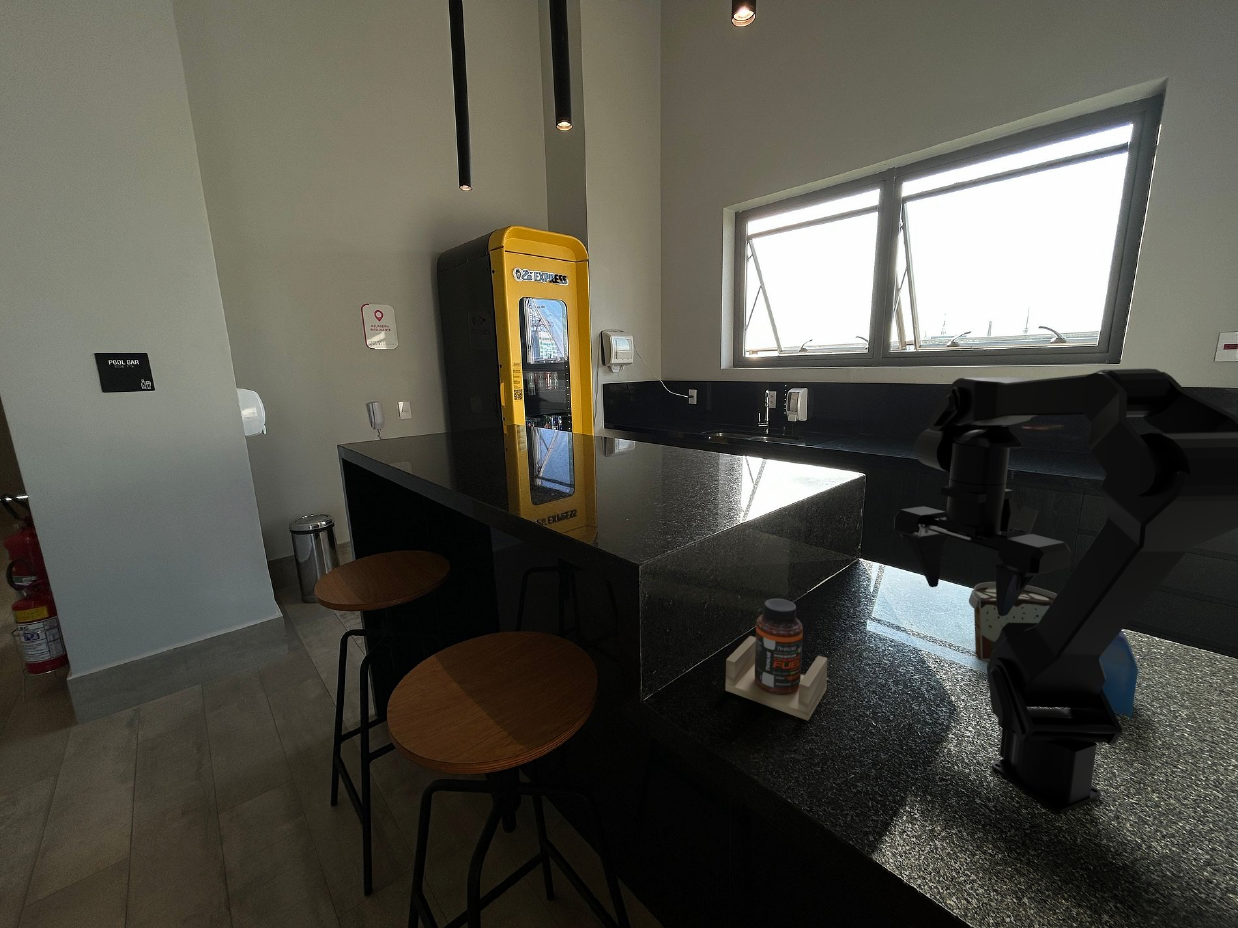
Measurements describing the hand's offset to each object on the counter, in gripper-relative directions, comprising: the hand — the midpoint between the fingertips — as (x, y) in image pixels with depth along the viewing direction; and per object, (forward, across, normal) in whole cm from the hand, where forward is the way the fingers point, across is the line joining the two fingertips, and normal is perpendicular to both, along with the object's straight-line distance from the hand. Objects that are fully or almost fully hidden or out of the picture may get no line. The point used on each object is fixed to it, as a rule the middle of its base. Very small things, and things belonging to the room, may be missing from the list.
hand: (965, 599), depth 65 cm
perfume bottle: (+13, -7, -16) cm, 22 cm away
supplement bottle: (+12, +9, +22) cm, 26 cm away
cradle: (+13, +9, +22) cm, 27 cm away
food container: (+13, +5, -16) cm, 22 cm away
